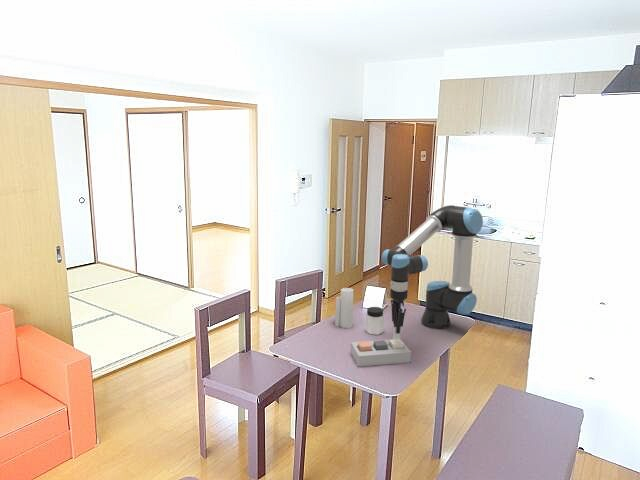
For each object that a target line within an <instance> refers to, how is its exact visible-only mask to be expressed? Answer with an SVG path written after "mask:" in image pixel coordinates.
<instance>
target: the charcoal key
mask: <svg viewBox="0 0 640 480" xmlns="http://www.w3.org/2000/svg"><path fill="white" fill-rule="evenodd" d="M380 340H381V341H377V340H373V341H374V348H375V349H376V350H388V345H387V343H386V342H385V341H384V340H385V339H380Z"/></svg>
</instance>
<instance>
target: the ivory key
mask: <svg viewBox="0 0 640 480" xmlns="http://www.w3.org/2000/svg"><path fill="white" fill-rule="evenodd" d="M400 339H401V338H400ZM400 339H398V340H391V339H388V340H389V346H390V347H391V348H392V349H402V348H404V344H405V343H404V341H403V340H402V339H401V340H402V341H403V342H402V341H401V340H400Z"/></svg>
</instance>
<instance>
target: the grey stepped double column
mask: <svg viewBox="0 0 640 480" xmlns="http://www.w3.org/2000/svg"><path fill="white" fill-rule="evenodd" d="M334 308H335V311H334V313H335V314H334V326H336V327H341V328H343V329H350V328H353V326H354V325H353V319H354V289H353V288H351V287H343V288H341V289H340V296H336V297H335V305H334Z"/></svg>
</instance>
